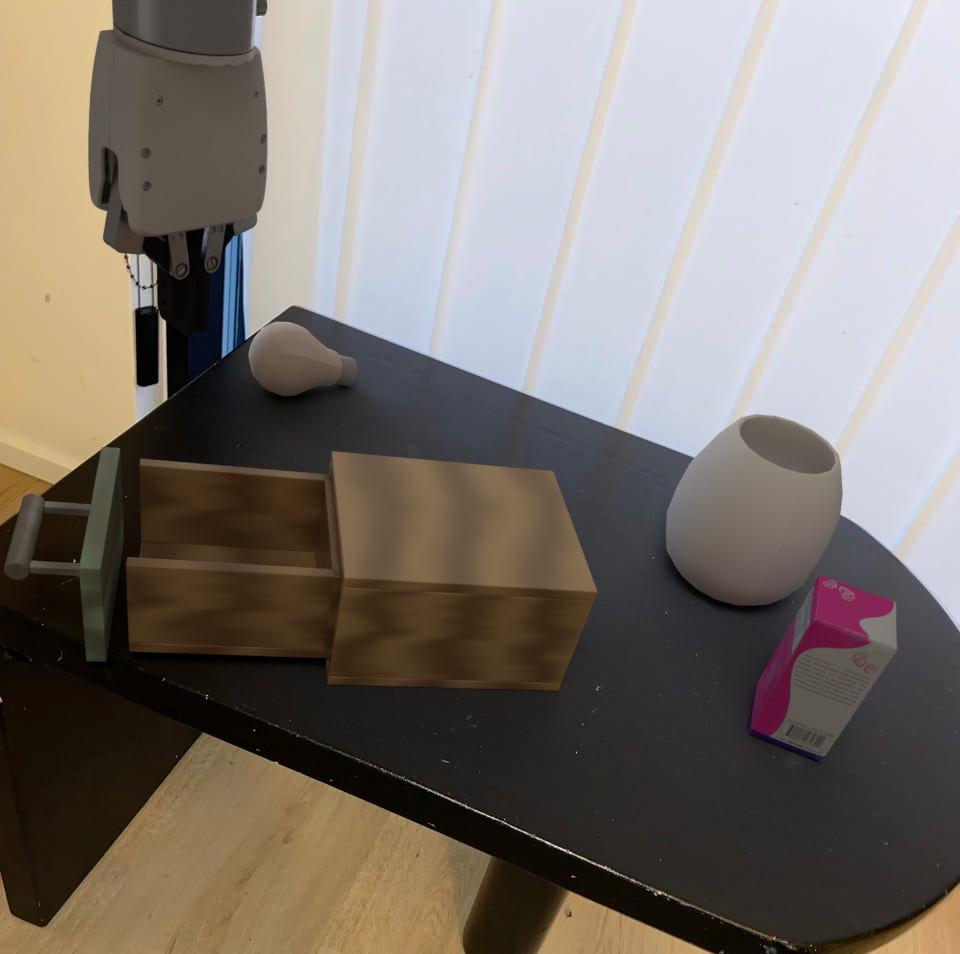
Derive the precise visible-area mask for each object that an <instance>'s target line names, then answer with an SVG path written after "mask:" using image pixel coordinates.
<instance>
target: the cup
mask: <svg viewBox="0 0 960 954" xmlns="http://www.w3.org/2000/svg"><path fill="white" fill-rule="evenodd" d="M841 464H842V463H841V460H840V455H839V453H838V452H837V450H836V449H835V447H833V446H832V444H831V443H830V442H829V441H828V440H827V439H825V438H824V437H822V436H821V435H820V434H819V433H817V432H816V431H815V430H813V429H811V428H809V427H808V426H805V425H803V424H801V423H799V422H797V421H794V420H791V419H788V418H784V417H780V416H777V415H771V414H758V413H754V414H749V415H745V416H742V417H740V418H738V419H737V420H736V421H734V422H732V424H730V425H729V426H727V427H726V428H724V429H723V430H721V431H719V433H718V434H716V436H715V437H713V439H712V440H711V441H710V442H709V443H708V444H706V446H705V447H703V448H702V450H700V452H698V454H696V456H695V457H694V458H693V459H691V461H690V463H689V464H688V466H687V468H686V470H685V472H684V473H683V475H682V477H681V479H680V480H679V482H678V484H677V485H676V488H675V489H674V493H673V495H672V498H671V501H670V503H669V505H668V508H667V510H666V519H665V520H666V521H665V549H666V551H667V554H668V555H669V557H670V559H671V560H672V562H673V564H674V566H675V568H676V569H677V571H678V572H679V574H680V575H681V576H682V577H683V578H684V579H685V580H686V581H687V582H688V583H689V584H690V585H691V586H692V587H693V588H695V590H696V591H697V590H698V591H699V592H701V593H702V594H705V595H706V596H708V597H710V598H712V599H713V600H716V601H720V602H723V603H726V604H731V605H733V606H764V605H765V606H766V605H771V604H772V603H776V602H779V601H780V600H783V599H786V598H787V597H789V596H791V595H792V594H793V593H794V592H796V591H797V590H799V589H800V588H801V587H803V586H804V585H805V584H806V582H807V580H809V577H810V576H811V574H812V572H813V571H814V569H815V567H816V566H817V564H818V563H819V561H820V560H821V558H822V556H823V554H824V553H825V552H826V550H827V548H828V547H829V545H830V542H831V541H832V538H833V535H834V533H835V531H836V528H837V526H838V524H839V522H840V519H841V513H842V512H841V511H842V504H843V495H844V494H843V492H844V490H843V477H842V465H841Z"/></svg>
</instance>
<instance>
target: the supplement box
mask: <svg viewBox="0 0 960 954" xmlns="http://www.w3.org/2000/svg"><path fill="white" fill-rule="evenodd" d="M897 634H898V633H897V602H896V601H893V600H892V599H891V600H890V599H888V598H885V597H882V596H880V595H877V594H875V593H871V592H869V591H866V590H863V589H860V588H857V587H855V586H852V585H849V584H847V583H844V582H841V581H838V580H835V579H833V578H830V577H827V576H825V575H822V574H820V575H818V576H817V577H816V579H815V581H814V583H813V585H812V587H811V588H810V590H809V592H808V593H807V594H806V597H805V598H804V601H803V602H802V604H801V606H800V607H799V608H798V611H797V613H796V614H795V616H794V618H793V619H792V621H791V623H790V625H789V626H788V628H787V630H786V632H785V634H784V636H783V637H782V639H781V641H780V643H779V644H778V646H777V648H776V649H775V650H774V653H773V654H772V657H771V658H770V660H769V662H768V663H767V665H766V667H765V669H764V671H763V672H762V674H761V676H760V677H759V679H758V681H757V683H756V684H755V688H754V689H755V690H754V695H753V700H752V706H751V712H750V717H749V724H748V731H747V732H748V733H747V734H748V735H751V736H753V737H756V738H758V739H761V740H763V741H766V742H768V743H771V744H774V745H776V746H779V747H781V748H784V749H786V750H789V751H792V752H793V753H797V754H799V755H802V756H804V757H807V758H809V759H812V760H814V761H817V762H820V763H822V761H823V760H824V758H825V757H826V756H827V755H828V753H829V752H830V750H831V749H832V747H833V745H834V744H835V743H836V741H837V739H838V738H839V737H840V736H841V734H842V732H843V731H844V730H845V728H846V727H847V725H848V724H849V722H850V721H851V719H852V718H853V716H854V715H855V714H856V712H857V710H858V709H859V707H860V706H861V704H862V703H863V701H864V700H865V698H867V695H868V694H869V693H870V691H871V690H872V688H873V686H874V685H875V683H876V682H877V681H878V679H879V678H880V677H881V675H882V674H883V672H884V670H885V669H886V667H887V666H889V665H888V664H890V662H891V661H892V659H893V657H894V656H895V654H896V653H897V651H898V639H897V638H898V637H897Z"/></svg>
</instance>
